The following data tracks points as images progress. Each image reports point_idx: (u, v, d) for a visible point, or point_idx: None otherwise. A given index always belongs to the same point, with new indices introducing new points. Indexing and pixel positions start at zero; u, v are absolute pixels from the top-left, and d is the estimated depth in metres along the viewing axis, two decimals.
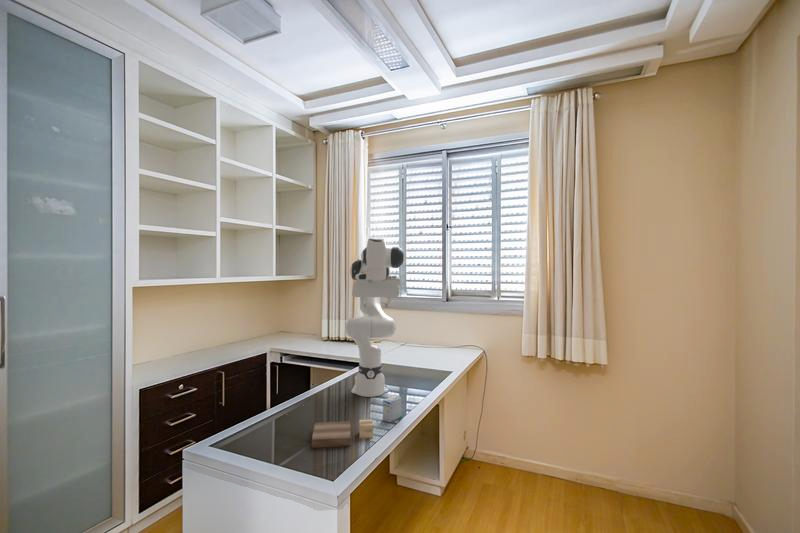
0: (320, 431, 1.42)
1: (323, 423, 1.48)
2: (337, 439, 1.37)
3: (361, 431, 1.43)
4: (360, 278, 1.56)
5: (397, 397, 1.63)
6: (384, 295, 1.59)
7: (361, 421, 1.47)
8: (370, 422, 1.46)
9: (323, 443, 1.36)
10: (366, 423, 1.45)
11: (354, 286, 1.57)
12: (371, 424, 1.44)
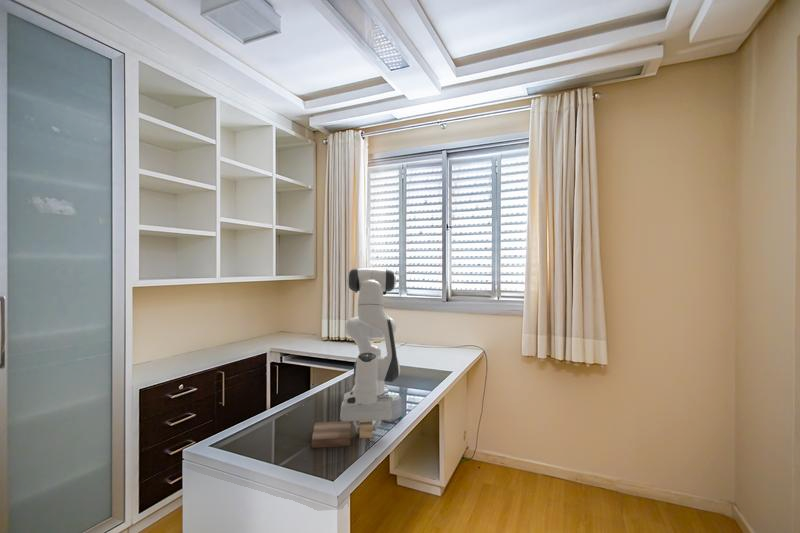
0: (320, 431, 1.42)
1: (323, 423, 1.48)
2: (337, 439, 1.37)
3: (361, 431, 1.43)
4: (349, 402, 1.41)
5: (397, 397, 1.63)
6: (375, 418, 1.44)
7: (361, 421, 1.47)
8: (370, 422, 1.46)
9: (323, 443, 1.36)
10: (366, 422, 1.45)
11: (342, 410, 1.42)
12: (371, 424, 1.44)
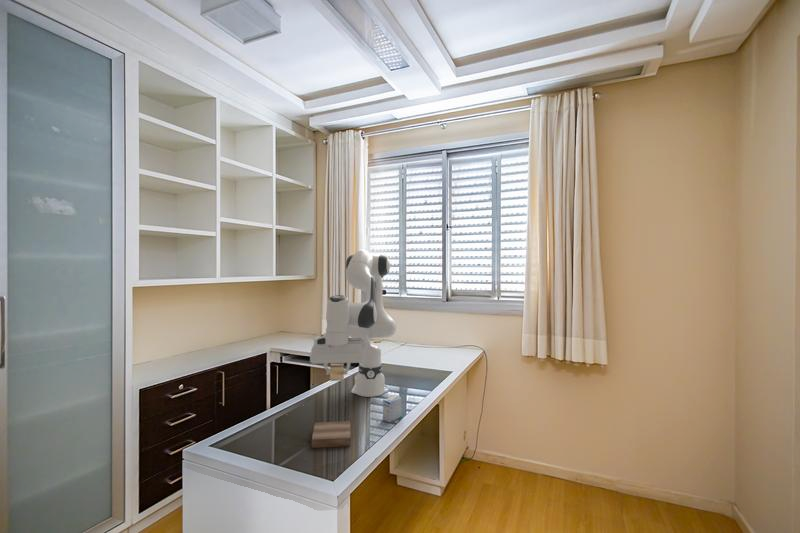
0: (320, 431, 1.42)
1: (323, 423, 1.48)
2: (337, 439, 1.37)
3: (332, 373, 1.40)
4: (319, 343, 1.38)
5: (397, 397, 1.63)
6: (346, 361, 1.41)
7: (332, 364, 1.43)
8: (341, 365, 1.43)
9: (323, 443, 1.36)
10: (337, 366, 1.42)
11: (312, 352, 1.39)
12: (342, 366, 1.41)
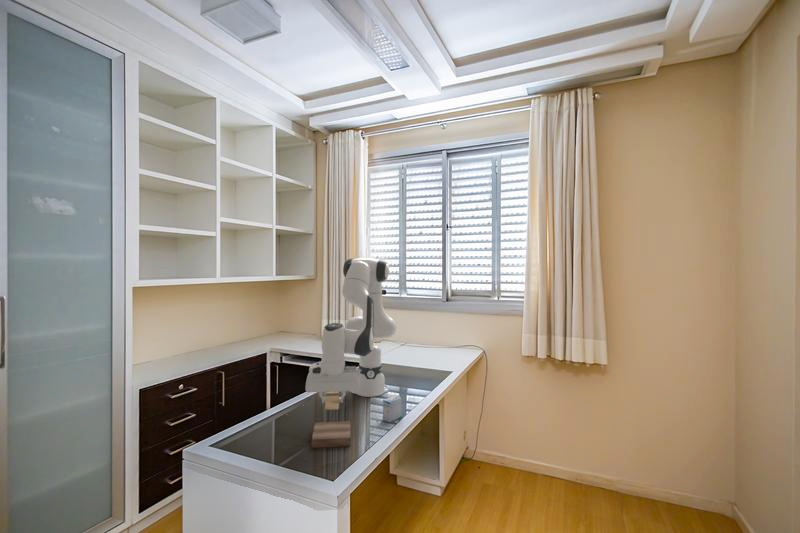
0: (320, 431, 1.42)
1: (323, 423, 1.48)
2: (337, 439, 1.37)
3: (327, 402, 1.40)
4: (314, 372, 1.38)
5: (397, 397, 1.63)
6: (342, 389, 1.41)
7: (328, 393, 1.43)
8: (337, 393, 1.43)
9: (323, 443, 1.36)
10: (332, 394, 1.42)
11: (307, 381, 1.39)
12: (337, 395, 1.41)
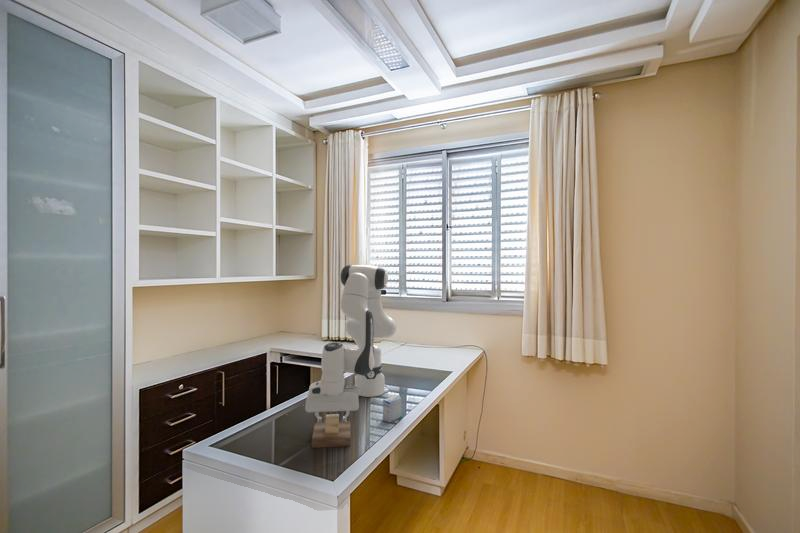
0: (320, 431, 1.42)
1: (323, 423, 1.48)
2: (337, 439, 1.37)
3: (327, 426, 1.40)
4: (314, 392, 1.39)
5: (397, 397, 1.63)
6: (341, 409, 1.42)
7: (327, 416, 1.44)
8: (336, 416, 1.43)
9: (323, 443, 1.36)
10: (332, 417, 1.42)
11: (307, 401, 1.39)
12: (337, 418, 1.42)
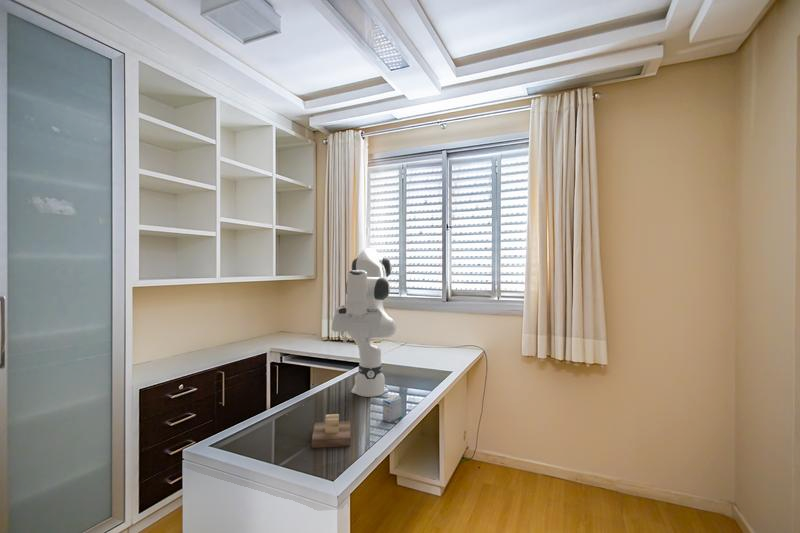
0: (320, 431, 1.42)
1: (323, 423, 1.48)
2: (337, 439, 1.37)
3: (327, 426, 1.40)
4: (340, 312, 1.51)
5: (397, 397, 1.63)
6: (365, 329, 1.54)
7: (327, 416, 1.44)
8: (336, 416, 1.43)
9: (323, 443, 1.36)
10: (332, 417, 1.42)
11: (334, 320, 1.52)
12: (337, 418, 1.42)
